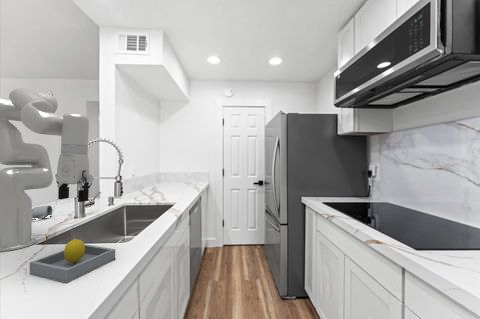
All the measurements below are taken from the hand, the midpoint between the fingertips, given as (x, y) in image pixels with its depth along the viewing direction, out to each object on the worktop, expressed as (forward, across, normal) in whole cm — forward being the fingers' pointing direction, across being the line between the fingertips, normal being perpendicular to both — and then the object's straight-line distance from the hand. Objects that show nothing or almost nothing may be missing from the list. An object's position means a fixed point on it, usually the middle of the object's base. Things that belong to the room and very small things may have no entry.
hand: (73, 200), depth 77 cm
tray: (+20, +6, -3) cm, 21 cm away
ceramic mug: (+24, -74, +32) cm, 85 cm away
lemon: (+20, +6, -3) cm, 21 cm away
